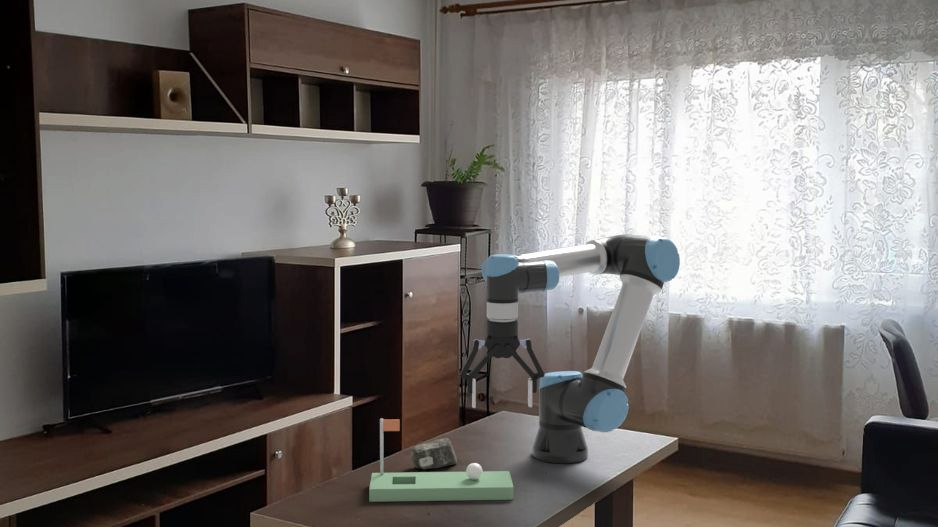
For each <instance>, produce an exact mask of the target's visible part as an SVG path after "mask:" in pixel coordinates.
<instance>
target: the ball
mask: <svg viewBox="0 0 938 527" xmlns="http://www.w3.org/2000/svg"><path fill="white" fill-rule="evenodd" d="M483 471H484V470H483V467H482V466H481V464H479V463H477V462H472V463H470V464H468V466H466V469H465V472H466V474H467V476H468V477H469V478H470V479H472V480H477V479H479V478H480V477H481V476H482V472H483Z"/></svg>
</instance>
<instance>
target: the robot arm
mask: <svg viewBox="0 0 938 527" xmlns="http://www.w3.org/2000/svg"><path fill="white" fill-rule="evenodd" d="M678 251H679V250H678V248H677V246H676V244H675V242H673V241H672V240H671V239H669V238H667V237H663V236H658V235H642V234H632V233H631V234H629V233H627V234H625V233H623V234H618V235H617V234H616V235H613V236H608V237H607V236H606V237H602V238H597V239H590V240H588V241H587V242H586V244H581V245H576V246H568V247H563V248H554V249H550V250H543V251H535V252H528V253H522V254H518V255H517V254H510V253H509V254H507V253H504V254H503V253H502V254H501V253H500V254H492V255H489V256H488V257H487V258H486V259H485V260H484V262H482V266H481V275H482V279H483V280H484V281H485V282H486V318H487V320H486V338H485V339H478V337H477V338H475V337H474V339H473V344H472V348H471V350H470V352H469V354H468V356H467V359H466V360H465V362H464V364H463V366H462V367H461V370H460V372H459V377H460V378H461V379H465V380H466V381H467V383H466V384H467V385H466V386H467V387H466V388H467V394H468V395H469V394H471V406H472V408H473V409H476V405H477V404H476V403H477V401H476V400H477V399H476V397H477V394H476V393H477V390H476V389H477V387H476V381H477V380H476V376H477V375H478V374H479V372H480V371H481V370H483V368H484V366H485V365H486V364H488V362H489V361H490V360H491V359H492V358H495V359H501V358H503V359H509V358H511V357H512V358H513V359H514V360H515V361H516V362H517V363H518V364H519V365H520V366H521V368H522V369H523V370H524V372H526V373H527V375H528V376H529V378H527V406H528V408H533V394H536V393H537V391H538V429H537V432H536V435H535V437H534V440H533V444H532V451H531V452H532V457H534V458H535V459H536V460H538V461H542V462H545V463H552V464H572V463H573V464H574V463H579V462H582V461H585V460H587V458H588V457H589V454H588V453H589V447H588V444H587V442H586V438H585V434H584V432H583V428H585V429H588V430H590V431H593V432H600V433H610V432H612V431H614V430H616V429H618V428H619V427H620V426H621V425H622V424H623V423H624V421H625V419H627V415H628V412H629V408H630V407H629V404H628V403H629V399H628V396H627V395H626V393H625V392H626V390H627V385H626V383H625V381H624V378H625V376H626V373H627V369H628V367H629V365H630V362H631V358H632V355H633V353H634V350H635V348H636V344H637V342H638V340H639V336H640V333H641V331H642V328H643V325H644V322H645V320H646V317H647V314H648V312H649V309H650V306H651V303H652V300H653V297H654V296H655V295H657V294H659V293H661V292H662V290H663V287H664V284H665V283H668V282H670V281H672V280H674V279H675V277H676V276H677V275H678V274H679V273H678V272H679V270H680V266H681V259H680V254H679V252H678ZM586 273H589V274H591V275H605V274H607V275H616V276H619V279H620V281H621V284H622V285H621V287H620V291H619V293H618V295H617V299H616V302H615V304H614V308H613V309H612V313H611V315H610V318H609V321H608V324H607V326H606V328H605V332H604V334H603V336H602V339H601V343H600V345H599V347H598V351H597V354H596V355H595V359H594V361H593V364H592V367H590V368H589V369H587V370H585V371H583V373H582V372H581V371H577V370H561V371H552V372H551V371H550V372H546V373H545V372H544V370H543V369H542V365H541V364H540V363H539V360H538V359H537V356H536V354H535V352H534V351H533V349H532V348H533V347H532V341H531V339H530V338H529V337H526V338H524V339H519V321H518V320H517V319H518V317H519V294H523V293H535V292H543V293H544V292H546V291H551V290H553V289H555V288H557V286H558V284H559V283H560V277H561V278H563V277H568V276H569V277H570V276H574V275H580V274H586ZM483 346H484V347H485V348H486V349H487V351H486V352H485V354H484V355H483V357H481V359H480V360H479V361H478V362H477V364H476V365H474V367H473V368H472V369H471V371H469V369H470V368H471V366H472V364H473V362H474V359H475V358H476V355H477V354H478V352H479V350H481V349H482V348H483ZM520 346H522V348H523V349H525V350H526V351H527V354H528V355H529V357H530V359H531V361H532V363H533V365H534V368H535V369H536V371H537V372H534V371H533V369H532V368H531V367H530V366H529V365H528V363H527V362H526V361H525V360H524V359H523V358H522V357H521V355H520V354H519V352H518V351H517V350H518V348H519V347H520ZM468 372H469V373H468ZM538 380H539V386H538ZM537 388H538V389H537Z"/></svg>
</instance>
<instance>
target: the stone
mask: <svg viewBox="0 0 938 527" xmlns="http://www.w3.org/2000/svg"><path fill="white" fill-rule="evenodd" d="M410 454H411V459H412V462H413V465H414V467H415V468H416V469H418V470H431V469H438V468H444V467H448V466H451V465H457V463H458V460H457V455H456V452H455V449H454V447H453V443H452V442H451V440H450V438H448V437H443V438H438V439H434V440H430V441H428V442H427V443H421V444H418V445H415V446H414V447H413V449H412V450H411V452H410Z"/></svg>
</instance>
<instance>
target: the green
mask: <svg viewBox="0 0 938 527" xmlns="http://www.w3.org/2000/svg"><path fill="white" fill-rule="evenodd" d="M400 422H401V421H400V419H398V418H397V419H393V418H392V419H384V418H380V419H379V459H380V460H379V464H380V465H379V469H380V470H379V472H372V473H371V479H370V483H369V489H368V490H369V492H368V495H369V496H368V499H369V503H370V502H371V503H372V502H373V503H375V502H379V503H380V502H381V503H382V502H429V501H431V502H432V501H433V502H434V501H435V502H439V501H441V502H442V501H447V502H449V501H500V500H501V501H502V500H503V501H504V500H506V501H508V500H509V501H510V500H514V498H515V496H514V493H515V492H514V491H515V490H514V483H513V479H512V477H511V472H510V470H494V471H490V470H489V471H488V470H487V471H485V470H483V472H482V476H481V477H480V478H479V479H477V480H472V479H470V478H469V477H468V476H467V474H466V471H428V472H427V471H420V472H418V471H416V472H415V471H414V472H413V471H410V472H406V471H405V472H385V471H384V469H385V468H384V467H385V466H384V432H400V429H401V428H400V427H401V426H400V425H401V423H400Z"/></svg>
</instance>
